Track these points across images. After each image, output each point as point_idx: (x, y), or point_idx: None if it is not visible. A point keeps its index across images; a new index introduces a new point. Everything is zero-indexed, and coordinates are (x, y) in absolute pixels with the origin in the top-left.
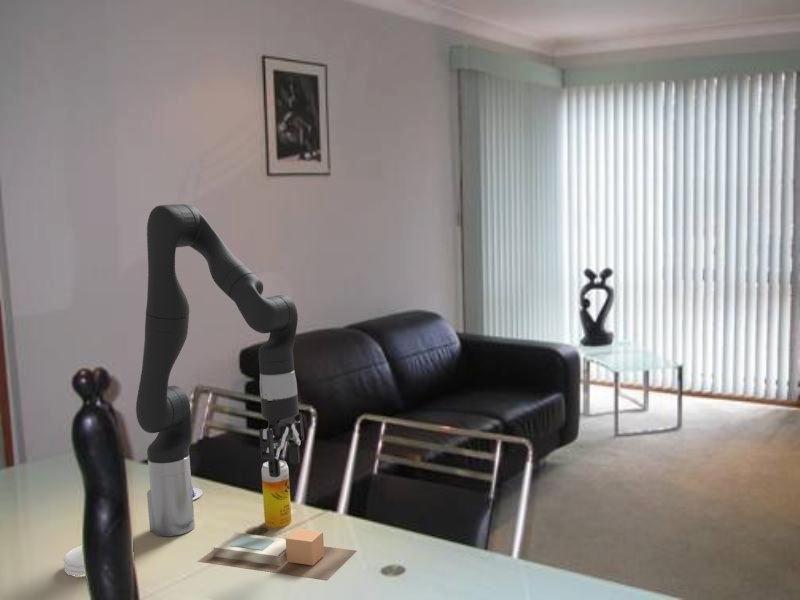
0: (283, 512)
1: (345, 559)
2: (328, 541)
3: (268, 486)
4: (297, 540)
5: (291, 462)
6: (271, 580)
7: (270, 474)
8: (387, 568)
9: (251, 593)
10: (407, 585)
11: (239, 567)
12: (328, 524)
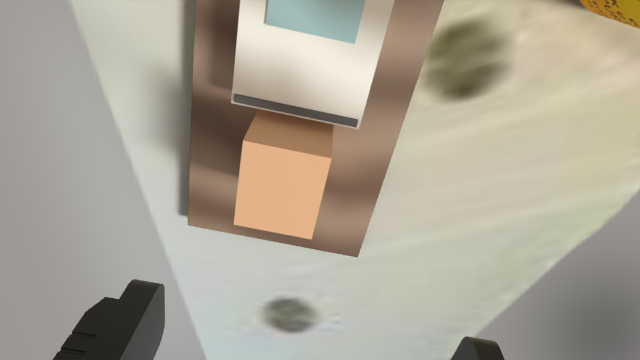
0: (614, 9)
1: (304, 242)
2: (450, 169)
3: None
4: (238, 180)
5: (464, 348)
6: (177, 76)
7: (101, 305)
8: (295, 307)
9: (86, 43)
10: (230, 339)
11: None
12: (591, 142)
